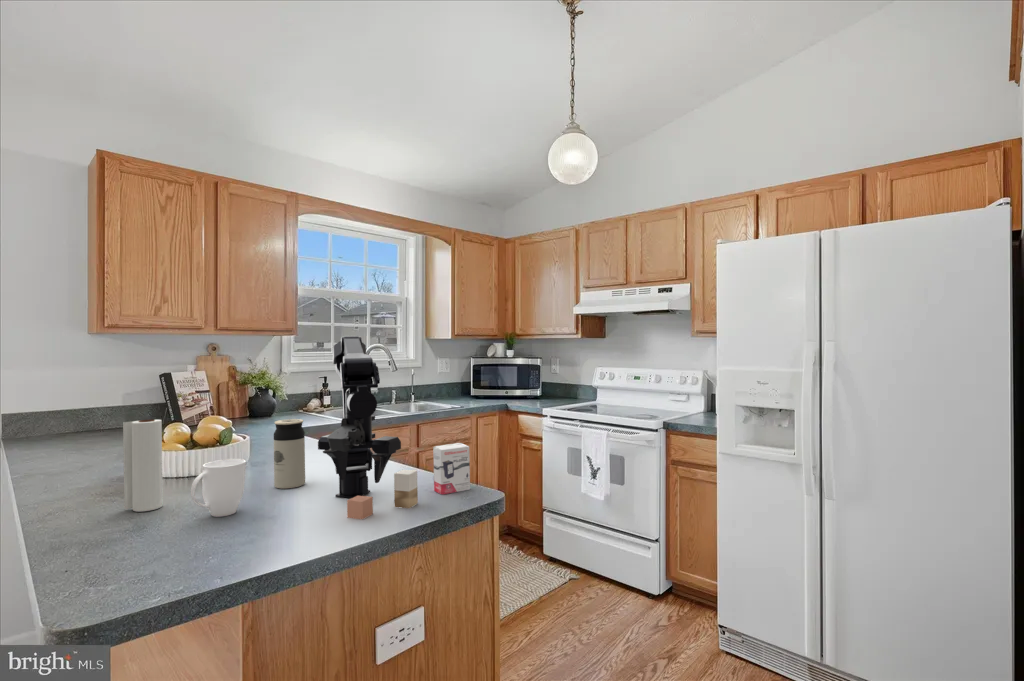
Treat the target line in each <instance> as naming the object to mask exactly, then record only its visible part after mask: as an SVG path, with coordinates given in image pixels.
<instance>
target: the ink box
mask: <svg viewBox="0 0 1024 681" xmlns="http://www.w3.org/2000/svg"><path fill="white" fill-rule="evenodd" d="M432 449H433V451H432V452H433V489H434V492H436V493H438V494H440V495H441V496H442V495H447V494H454V493H457V492H464V491H468V490H469V491H470V490H471V473H470V472H471V470H470V469H471V467H470V464H471V463H470V462H471V461H470V456H471V455H470V446H469V445H466V444H464V443H462V442H455V443H449V444H448V443H447V444H442V445H435V446H433V448H432Z"/></svg>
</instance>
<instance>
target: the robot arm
mask: <svg viewBox="0 0 1024 681" xmlns="http://www.w3.org/2000/svg"><path fill="white" fill-rule="evenodd" d="M332 348H333V349H332V365H335V373H336V374H337V376H338V377H339V378H340V383H341V384H340V385H341V389H342V390H341V392H342V412H343V414H342V416H343V417H342V418H341V421H340V422H341V423H340V424H341V425H340V427H337V428H336V429H335V430H334V431H333V432H331V433H330V434H326V435H322V436H320V438H319V439H318V441H317V450H319V451H320V450H322V453H323V454H326V455H327V456H328V457H330V458H331V460H332V461H333V465H334V467H335V473H336V475H338V481H339V482H338V483H339V484H338V486H339V487H338V488H339V490H338V493H335V498H345V499H346V498H347V499H348V498H349V499H351V498H353V497H356V496H366V495H367V494H369V493H371V489H369V477H368V476H367V471H368V472H370V471H371V470H373V469H374V471H373V474H374V483H375V484H378V483H380V480H381V479H382V476H383V473H384V471H385V469H386V468H387V467H386V466H387V464H388V463H389V461H390V458H391V457H392V455H393V454H396V453H397V451H399V450H401V449H402V442H401V440H400V438H399V436H381V437H379V438H376V433H373V421H375V420H376V415H374V413H375V412H376V410H377V407H378V401H377V399H376V396H375V395H374V394H373V393H372V389H373V388H379V384H380V380H381V379H380V372H379V367H378V366H377V362H376V361H374V360H373V358H372V356H371V355H370V354H367V347H366V343H364V342H363V341H362V336H359V335H344V336H341V337H340V341H338V342H336V344H334V345H333V346H332ZM373 452H374V453H373ZM373 462H374V468H373Z"/></svg>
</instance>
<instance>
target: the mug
mask: <svg viewBox="0 0 1024 681" xmlns="http://www.w3.org/2000/svg"><path fill="white" fill-rule="evenodd" d="M246 465H247V462H246V459H243V458H227V459H226V458H225V459H217V460H214V461H209V462H206V463H204V464H202V472H201V473H200V474H198V475H197V476H196V477H195V478H194V480H192V484H191V488H190V496H191V498H192V500H193V502H194V504H196V505H197V506H199V507H200V508H203V509H207V510H208V511H209V514H210V515H211V517H215V518H216V517H217V518H219V517H226V516H231V515H234V514H235V513H237V511H238V508H239V505H240V503H241V501H242V499H243V495H244V492H245V484H246V483H245V482H246ZM201 479H202V480H201ZM200 480H201V482H202V484H201V494H202V499H203V502H204V503H202V502H200V501H199V500H198V499H197V497H196V488H197V485H198V483H199V481H200Z"/></svg>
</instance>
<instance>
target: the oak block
mask: <svg viewBox="0 0 1024 681" xmlns="http://www.w3.org/2000/svg"><path fill="white" fill-rule="evenodd" d="M418 492H419V491H418V487H417V488H415V489H413V490H411V491H397V490H394V491H393V493H394V494H393V497H394V508H399V507H402V508H403V509H411V508H413V507H414V506H415V505H418V504H417V503H419V502H418V501H419V499H418V498H419V497H418ZM412 506H413V507H412Z"/></svg>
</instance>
